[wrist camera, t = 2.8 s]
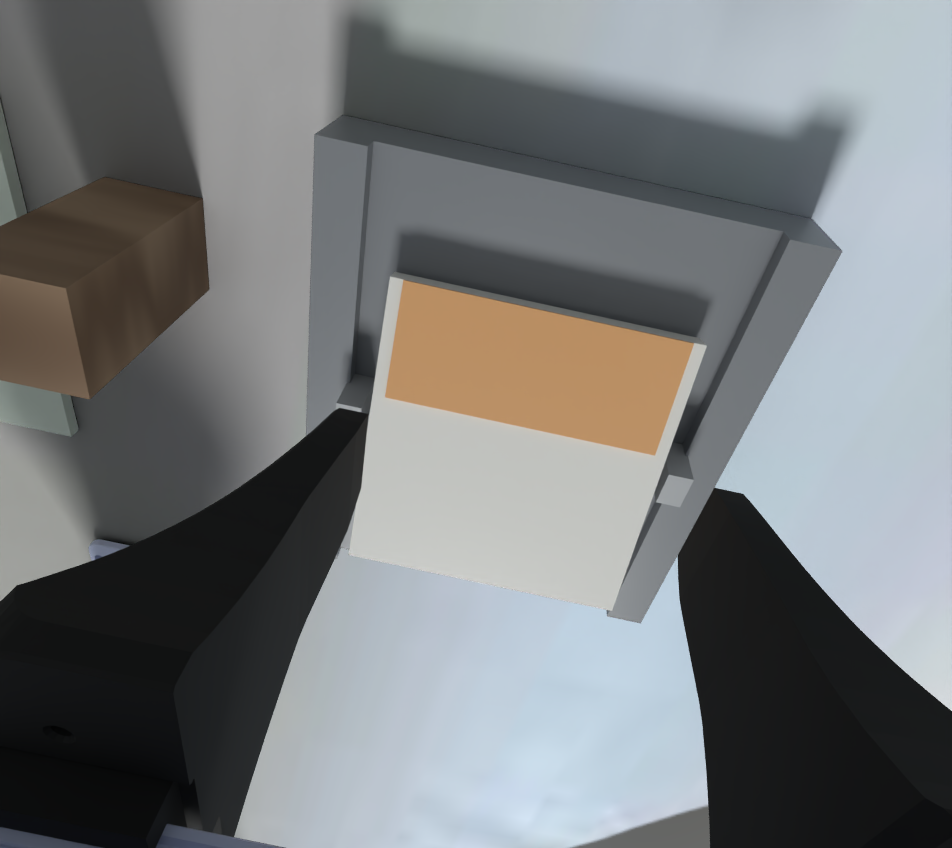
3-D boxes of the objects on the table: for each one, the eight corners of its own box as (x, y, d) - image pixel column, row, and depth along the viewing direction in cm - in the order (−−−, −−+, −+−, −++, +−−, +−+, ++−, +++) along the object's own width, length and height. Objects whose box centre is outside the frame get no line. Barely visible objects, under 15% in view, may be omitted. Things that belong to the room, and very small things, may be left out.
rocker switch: (609, 596, 23) (612, 612, 22) (354, 541, 23) (348, 556, 22) (699, 338, 19) (707, 346, 18) (395, 271, 19) (389, 276, 18)
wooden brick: (209, 289, 23) (89, 399, 17) (119, 269, 23) (-31, 373, 17) (202, 198, 21) (65, 288, 15) (104, 176, 21) (-71, 259, 15)
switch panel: (635, 574, 28) (643, 648, 25) (322, 507, 28) (292, 574, 25) (812, 218, 19) (859, 268, 16) (342, 115, 19) (298, 145, 16)
